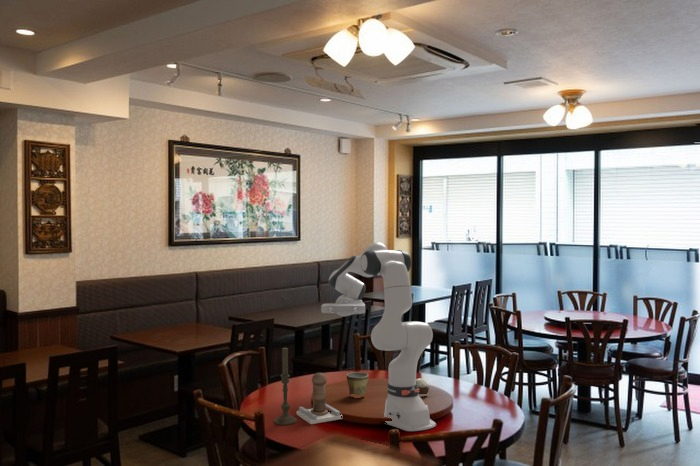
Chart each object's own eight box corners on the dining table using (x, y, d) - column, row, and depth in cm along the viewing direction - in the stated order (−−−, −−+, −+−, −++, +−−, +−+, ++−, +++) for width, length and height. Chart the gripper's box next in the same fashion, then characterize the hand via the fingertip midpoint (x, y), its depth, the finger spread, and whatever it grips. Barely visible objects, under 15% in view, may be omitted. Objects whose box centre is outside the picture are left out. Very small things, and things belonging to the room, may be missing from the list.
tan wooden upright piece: (330, 414, 246) (330, 373, 245) (315, 416, 242) (314, 375, 242) (323, 409, 252) (323, 369, 252) (307, 412, 248) (307, 371, 248)
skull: (398, 391, 281) (411, 373, 284) (413, 404, 284) (424, 386, 288) (413, 396, 270) (425, 377, 274) (427, 410, 274) (439, 391, 277)
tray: (342, 418, 244) (342, 411, 244) (310, 424, 238) (310, 416, 238) (327, 409, 257) (327, 402, 257) (296, 414, 250) (296, 407, 250)
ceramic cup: (368, 399, 271) (368, 377, 271) (346, 399, 271) (346, 377, 271) (368, 391, 284) (368, 370, 284) (346, 391, 284) (346, 370, 284)
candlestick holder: (297, 417, 246) (297, 344, 246) (296, 425, 237) (295, 348, 236) (275, 418, 246) (274, 344, 245) (272, 425, 236) (272, 348, 236)
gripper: (321, 299, 284) (319, 303, 270) (365, 299, 284) (365, 303, 270) (321, 313, 284) (319, 317, 271) (365, 313, 284) (365, 317, 270)
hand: (342, 310), depth 270 cm, fingers open, 8 cm apart
